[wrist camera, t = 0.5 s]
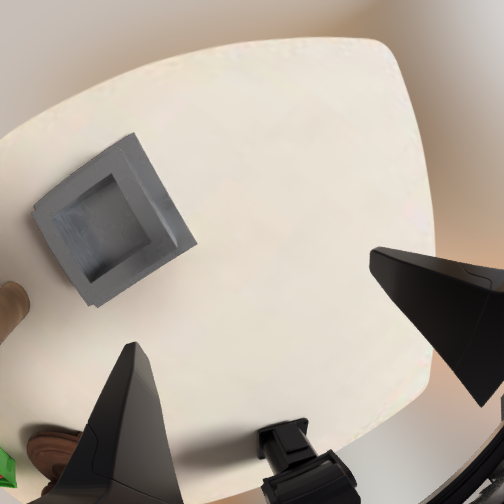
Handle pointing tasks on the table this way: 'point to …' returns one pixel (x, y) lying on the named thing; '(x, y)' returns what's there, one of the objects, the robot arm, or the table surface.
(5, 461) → the fruit basket
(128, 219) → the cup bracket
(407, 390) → the table surface
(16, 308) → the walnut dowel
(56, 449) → the brown wooden spool stand
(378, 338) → the table surface
